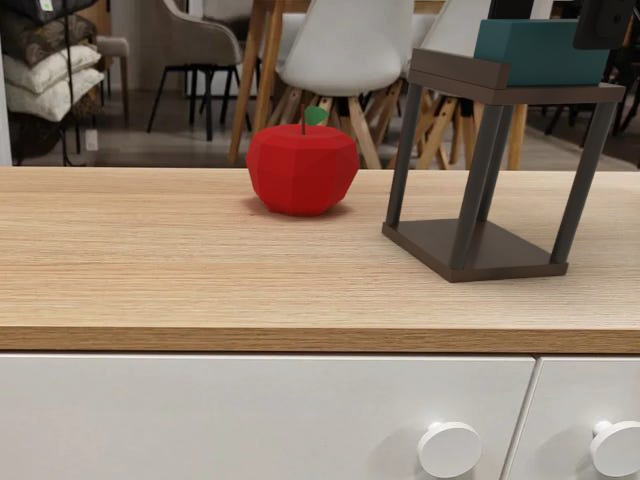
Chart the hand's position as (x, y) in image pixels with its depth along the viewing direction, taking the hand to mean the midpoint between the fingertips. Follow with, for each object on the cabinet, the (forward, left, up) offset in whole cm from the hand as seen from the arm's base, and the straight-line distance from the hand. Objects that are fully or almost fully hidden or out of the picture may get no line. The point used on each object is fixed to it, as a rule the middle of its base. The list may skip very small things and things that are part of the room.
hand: (546, 42), depth 47 cm
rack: (0, -3, -17) cm, 17 cm away
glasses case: (0, 0, -3) cm, 3 cm away
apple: (+10, -18, -17) cm, 27 cm away
